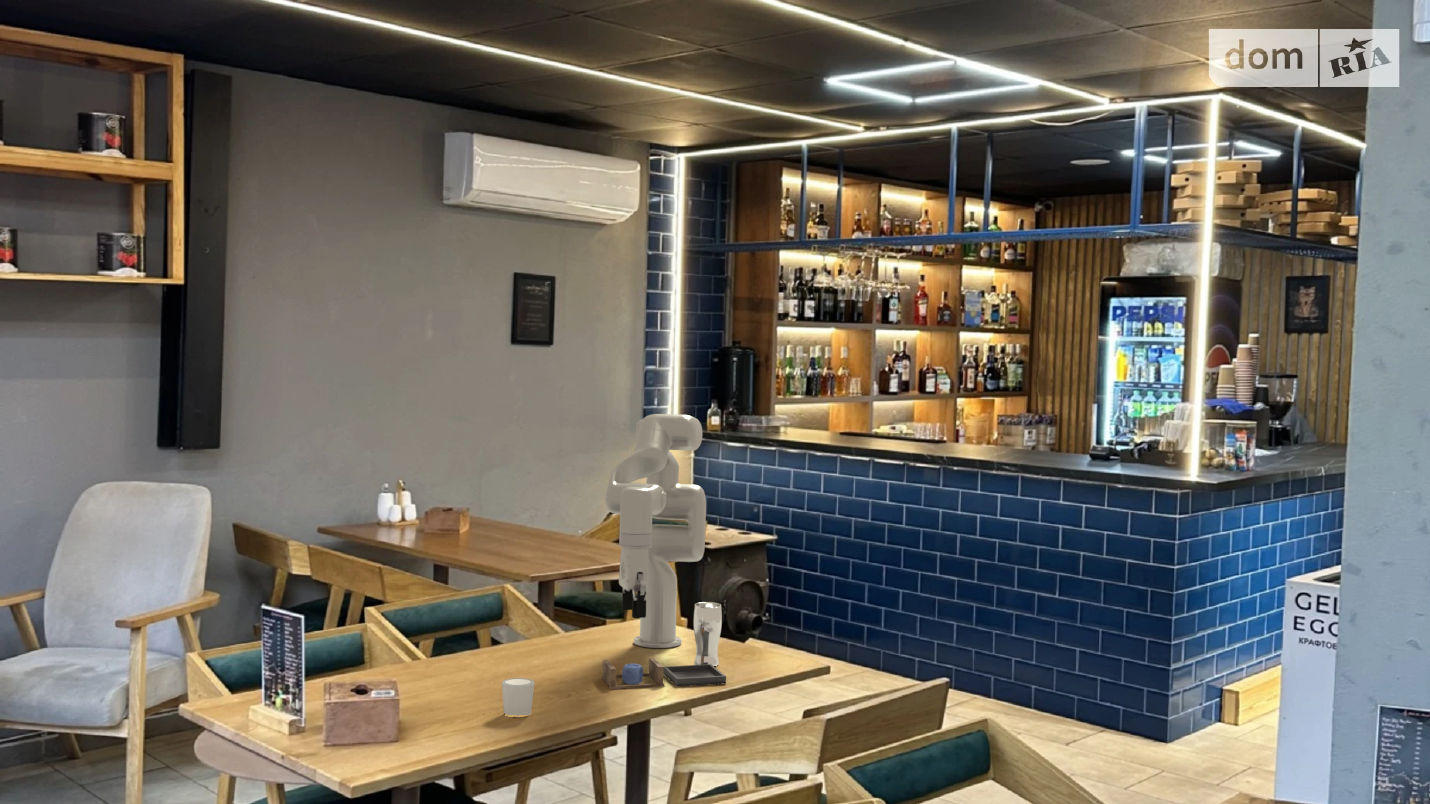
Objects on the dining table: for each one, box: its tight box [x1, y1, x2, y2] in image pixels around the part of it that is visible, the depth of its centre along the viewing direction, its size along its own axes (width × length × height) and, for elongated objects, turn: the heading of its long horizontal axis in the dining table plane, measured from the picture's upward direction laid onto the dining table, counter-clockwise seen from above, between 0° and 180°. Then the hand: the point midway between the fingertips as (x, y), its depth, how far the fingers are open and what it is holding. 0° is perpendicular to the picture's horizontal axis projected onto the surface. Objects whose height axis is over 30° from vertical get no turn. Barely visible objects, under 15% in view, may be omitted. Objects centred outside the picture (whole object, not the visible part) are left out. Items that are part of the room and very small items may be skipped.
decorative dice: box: [621, 663, 644, 685], centre depth 303 cm, size 4×4×4 cm
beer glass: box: [693, 601, 723, 667], centre depth 321 cm, size 7×7×15 cm
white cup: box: [501, 677, 535, 716], centre depth 274 cm, size 7×7×7 cm
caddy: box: [601, 657, 665, 690], centre depth 303 cm, size 11×12×4 cm
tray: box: [663, 664, 727, 687], centre depth 307 cm, size 12×12×2 cm
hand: (633, 613), depth 302 cm, fingers open, 9 cm apart
